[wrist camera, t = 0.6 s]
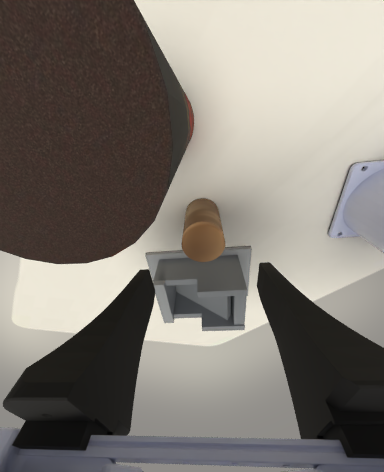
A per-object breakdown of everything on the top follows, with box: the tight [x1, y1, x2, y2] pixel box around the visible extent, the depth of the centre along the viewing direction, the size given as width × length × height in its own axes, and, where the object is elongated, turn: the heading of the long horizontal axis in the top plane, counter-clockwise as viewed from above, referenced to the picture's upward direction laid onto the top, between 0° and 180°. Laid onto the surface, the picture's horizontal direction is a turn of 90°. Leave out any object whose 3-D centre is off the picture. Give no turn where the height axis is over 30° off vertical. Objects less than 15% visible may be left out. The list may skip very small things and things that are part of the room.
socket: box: [145, 246, 251, 331], centre depth 23 cm, size 13×8×6 cm, turn 96°
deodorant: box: [0, 0, 194, 264], centre depth 10 cm, size 6×6×15 cm
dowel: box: [182, 198, 225, 262], centre depth 18 cm, size 4×4×6 cm
